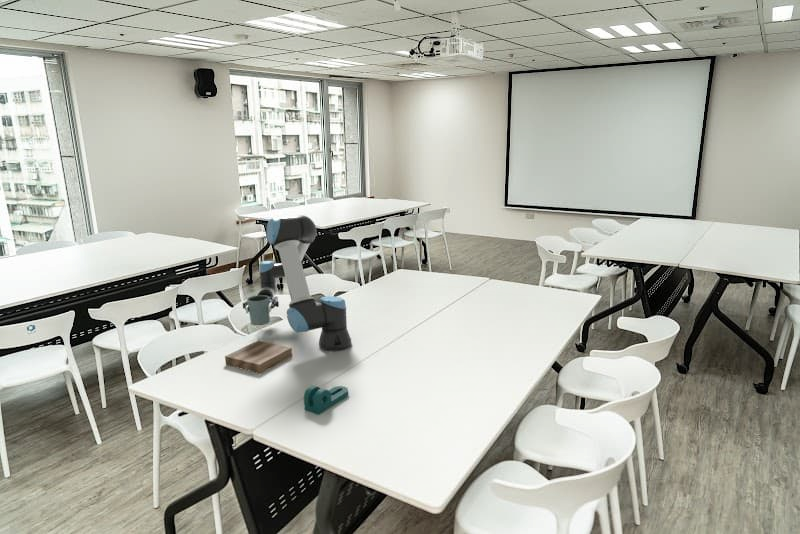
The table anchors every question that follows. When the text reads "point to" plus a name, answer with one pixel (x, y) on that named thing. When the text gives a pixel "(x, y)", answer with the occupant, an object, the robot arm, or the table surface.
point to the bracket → (323, 398)
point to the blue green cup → (259, 309)
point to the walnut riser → (258, 356)
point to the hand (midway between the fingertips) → (257, 310)
